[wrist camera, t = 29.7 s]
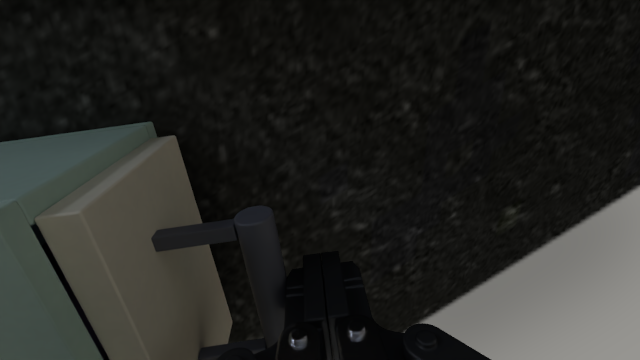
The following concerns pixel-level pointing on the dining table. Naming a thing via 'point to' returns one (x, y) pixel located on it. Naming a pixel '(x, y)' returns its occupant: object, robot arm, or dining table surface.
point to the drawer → (160, 260)
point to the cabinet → (24, 248)
